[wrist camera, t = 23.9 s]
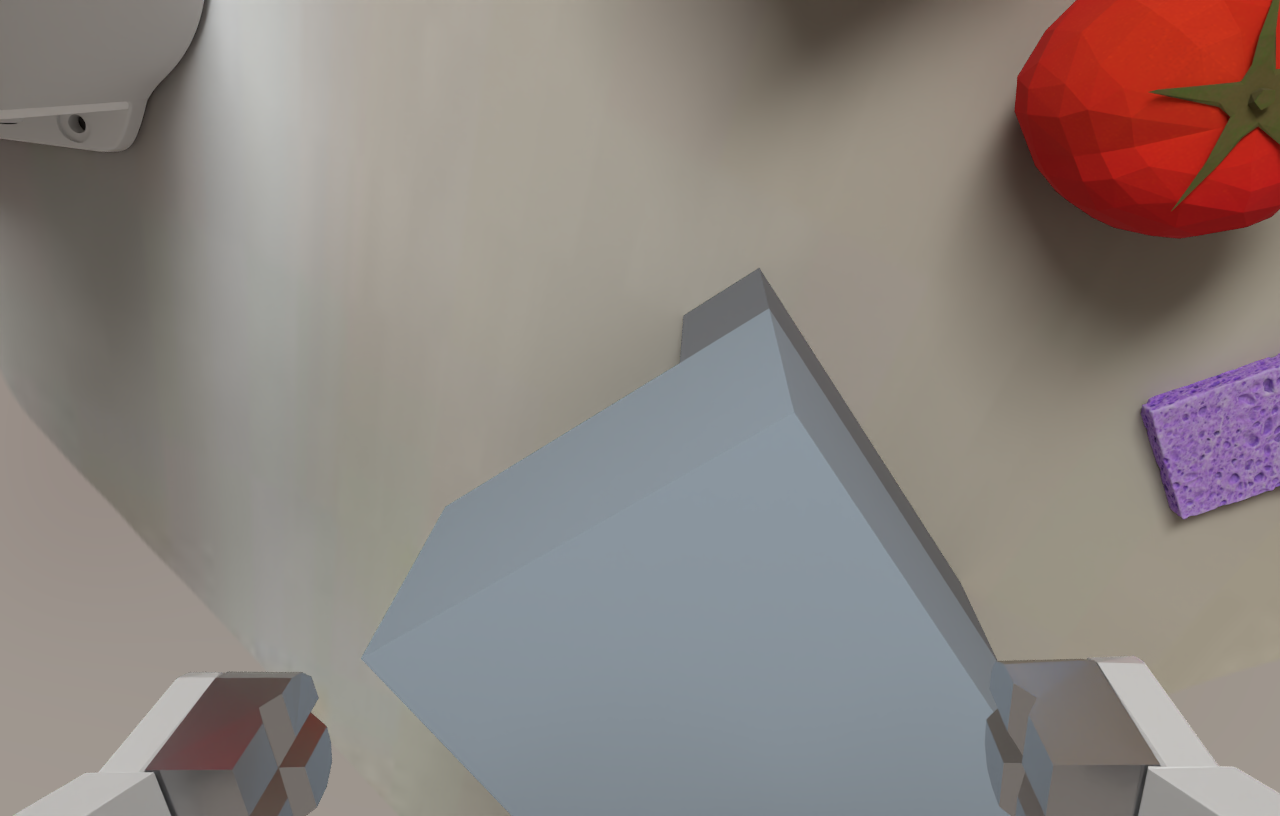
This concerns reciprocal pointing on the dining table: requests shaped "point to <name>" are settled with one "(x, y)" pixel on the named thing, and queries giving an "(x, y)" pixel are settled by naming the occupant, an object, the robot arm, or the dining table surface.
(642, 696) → the cabinet
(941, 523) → the dining table surface
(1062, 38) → the tomato
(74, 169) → the dining table surface
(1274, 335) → the dining table surface
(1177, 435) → the sponges
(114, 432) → the dining table surface
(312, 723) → the robot arm
